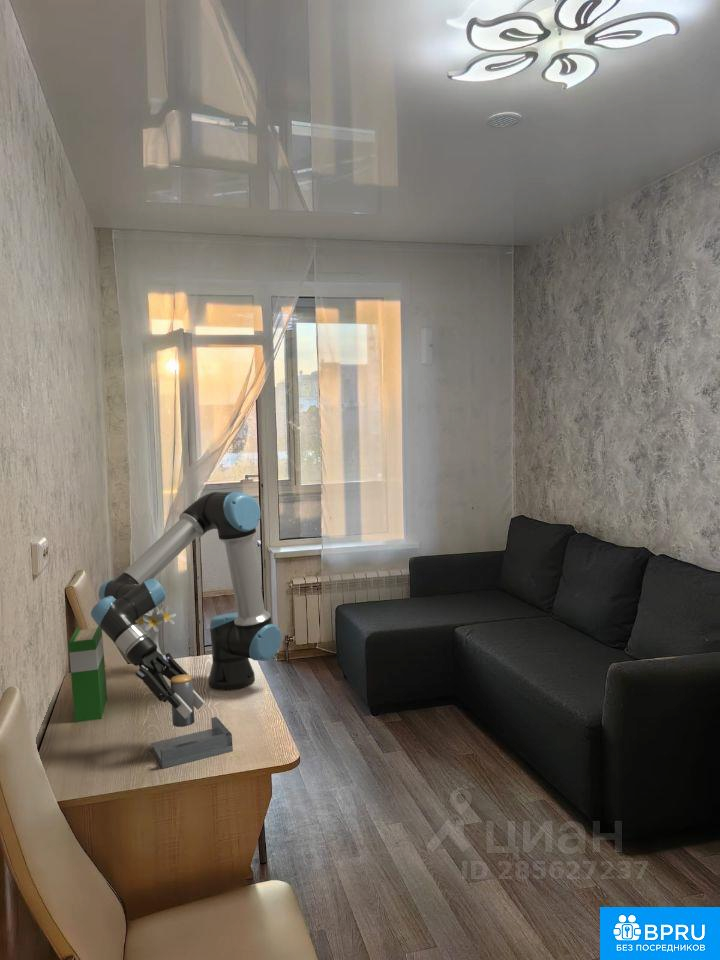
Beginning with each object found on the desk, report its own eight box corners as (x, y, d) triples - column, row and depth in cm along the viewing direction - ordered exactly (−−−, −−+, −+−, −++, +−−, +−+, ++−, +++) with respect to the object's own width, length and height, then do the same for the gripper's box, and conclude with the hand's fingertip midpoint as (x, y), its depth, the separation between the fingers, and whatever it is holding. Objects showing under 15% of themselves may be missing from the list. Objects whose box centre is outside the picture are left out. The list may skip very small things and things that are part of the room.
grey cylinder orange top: (191, 716, 196) (189, 672, 196) (197, 723, 191) (194, 678, 191) (170, 721, 194) (167, 676, 193) (175, 728, 189) (173, 682, 188)
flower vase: (127, 673, 261) (122, 607, 259) (177, 665, 267) (173, 600, 266) (129, 683, 249) (124, 614, 248) (182, 674, 256) (177, 607, 254)
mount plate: (217, 732, 203) (216, 716, 203) (232, 751, 191) (231, 734, 190) (151, 748, 195) (150, 732, 195) (162, 768, 183) (161, 751, 182)
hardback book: (82, 702, 234) (76, 627, 232) (107, 698, 235) (101, 625, 234) (74, 722, 217) (68, 642, 215) (101, 718, 218) (95, 639, 217)
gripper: (149, 645, 205) (204, 706, 201) (107, 665, 187) (167, 733, 183) (164, 627, 203) (221, 689, 199) (123, 646, 186) (184, 714, 181)
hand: (195, 710), depth 191 cm, fingers closed on grey cylinder orange top, 6 cm apart
